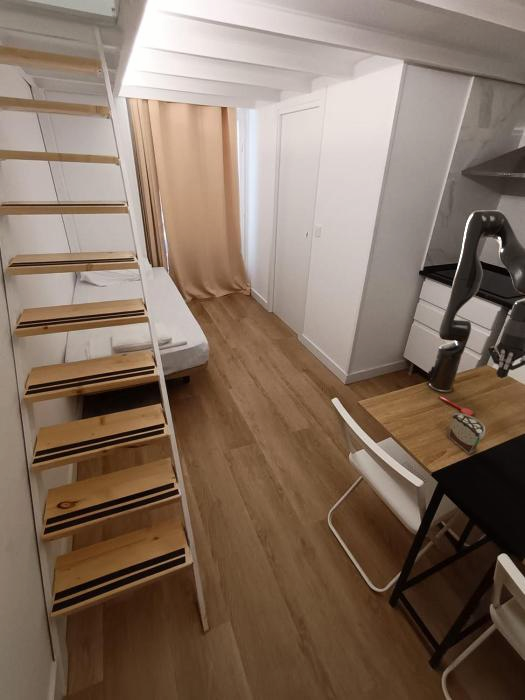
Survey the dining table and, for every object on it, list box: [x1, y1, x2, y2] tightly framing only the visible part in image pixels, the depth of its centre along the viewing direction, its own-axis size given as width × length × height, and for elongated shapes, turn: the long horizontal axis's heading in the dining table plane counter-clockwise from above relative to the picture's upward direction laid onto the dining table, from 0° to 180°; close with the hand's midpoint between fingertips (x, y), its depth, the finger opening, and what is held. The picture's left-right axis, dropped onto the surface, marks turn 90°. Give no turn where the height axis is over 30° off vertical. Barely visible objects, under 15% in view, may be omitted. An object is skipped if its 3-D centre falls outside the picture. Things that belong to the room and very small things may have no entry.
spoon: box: [439, 396, 474, 417], centre depth 139 cm, size 14×4×1 cm, turn 29°
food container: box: [448, 412, 486, 455], centre depth 117 cm, size 12×6×10 cm, turn 17°
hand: (500, 376), depth 117 cm, fingers closed
